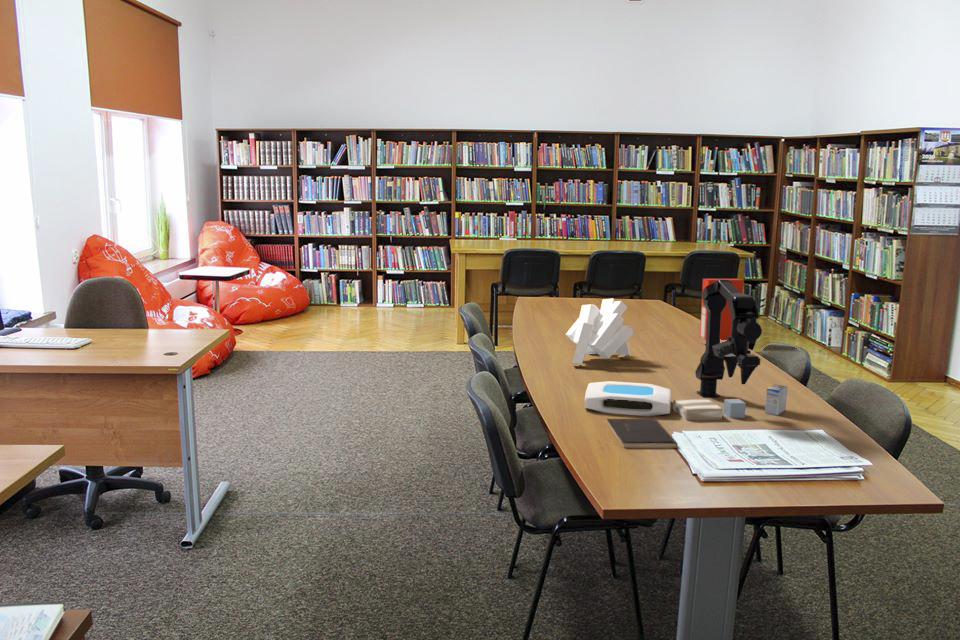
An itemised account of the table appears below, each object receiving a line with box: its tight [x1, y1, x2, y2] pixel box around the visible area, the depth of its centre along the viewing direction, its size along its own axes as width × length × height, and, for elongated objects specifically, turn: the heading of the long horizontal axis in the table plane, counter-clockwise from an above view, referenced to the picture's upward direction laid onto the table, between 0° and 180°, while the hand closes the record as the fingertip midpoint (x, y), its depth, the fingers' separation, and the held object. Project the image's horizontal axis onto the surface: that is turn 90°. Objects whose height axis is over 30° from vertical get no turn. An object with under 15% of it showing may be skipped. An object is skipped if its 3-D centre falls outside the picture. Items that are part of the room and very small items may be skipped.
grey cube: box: [723, 398, 746, 419], centre depth 252 cm, size 5×5×5 cm
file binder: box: [699, 278, 744, 340], centre depth 373 cm, size 8×17×32 cm, turn 95°
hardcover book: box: [606, 418, 678, 449], centre depth 230 cm, size 16×23×2 cm
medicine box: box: [764, 383, 788, 416], centre depth 256 cm, size 8×4×9 cm, turn 141°
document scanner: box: [583, 380, 671, 417], centre depth 262 cm, size 21×28×6 cm
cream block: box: [672, 398, 723, 421], centre depth 252 cm, size 12×12×4 cm
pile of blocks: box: [565, 297, 635, 365], centre depth 333 cm, size 35×30×35 cm
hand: (736, 380), depth 250 cm, fingers open, 9 cm apart
